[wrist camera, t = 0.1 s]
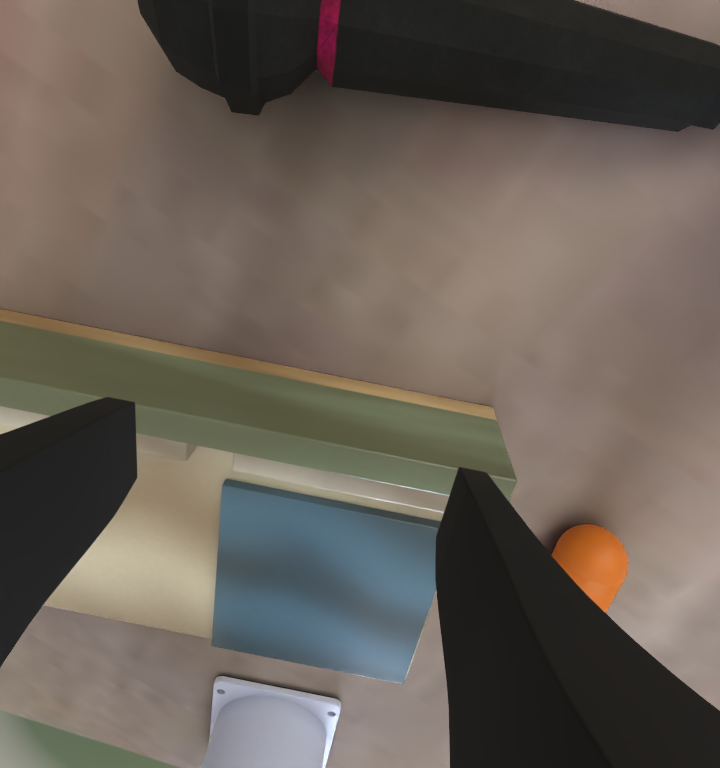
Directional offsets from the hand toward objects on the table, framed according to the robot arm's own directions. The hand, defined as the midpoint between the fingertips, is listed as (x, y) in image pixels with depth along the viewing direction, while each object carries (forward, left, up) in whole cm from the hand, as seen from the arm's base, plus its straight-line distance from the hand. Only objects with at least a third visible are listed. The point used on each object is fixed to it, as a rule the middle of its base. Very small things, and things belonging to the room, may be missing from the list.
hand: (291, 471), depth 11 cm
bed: (-10, +4, -10) cm, 15 cm away
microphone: (+9, -3, -10) cm, 14 cm away
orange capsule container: (-11, -13, -10) cm, 20 cm away
